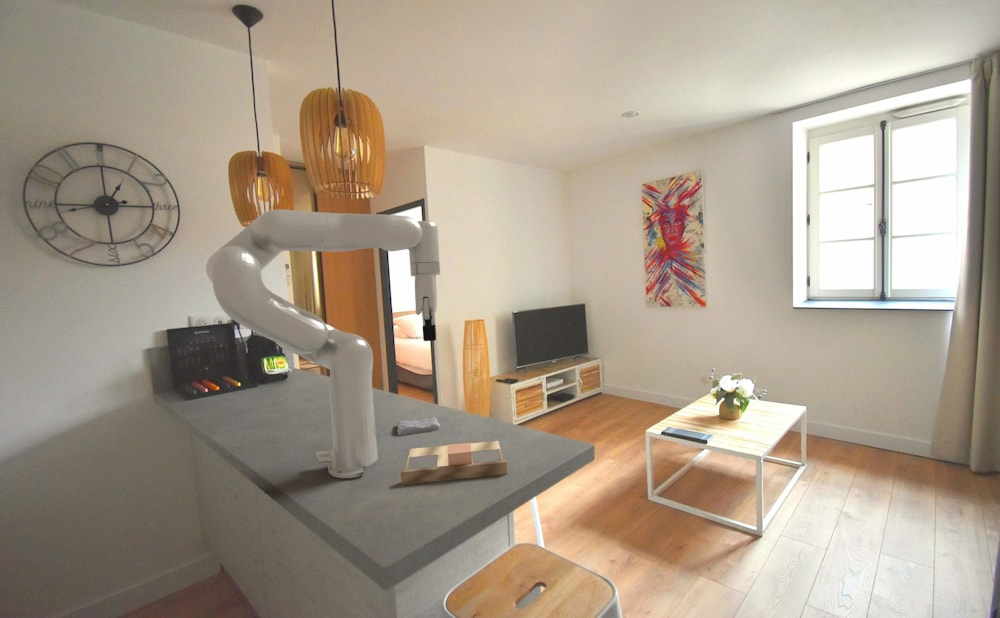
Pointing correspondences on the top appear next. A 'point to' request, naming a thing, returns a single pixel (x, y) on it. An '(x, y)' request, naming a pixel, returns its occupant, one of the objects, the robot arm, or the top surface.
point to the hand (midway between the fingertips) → (429, 340)
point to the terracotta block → (459, 454)
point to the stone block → (418, 426)
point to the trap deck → (453, 470)
